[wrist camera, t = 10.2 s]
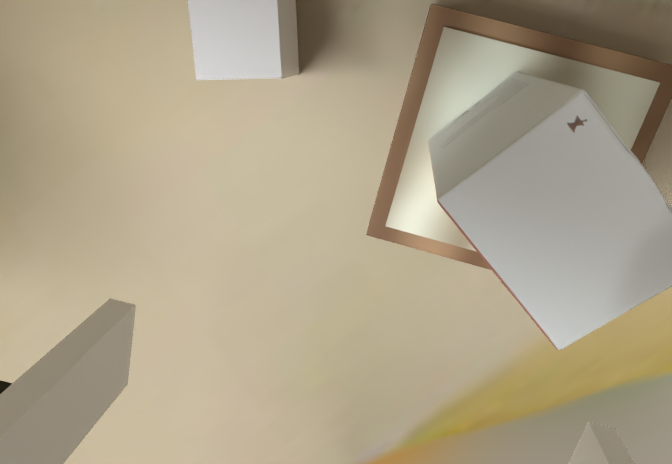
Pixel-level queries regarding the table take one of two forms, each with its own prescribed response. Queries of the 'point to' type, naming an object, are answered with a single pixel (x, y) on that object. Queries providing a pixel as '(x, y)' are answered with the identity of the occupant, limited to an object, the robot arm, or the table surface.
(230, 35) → the grey cube
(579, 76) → the stand
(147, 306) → the table surface
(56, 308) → the table surface
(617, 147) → the small box
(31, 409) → the robot arm
